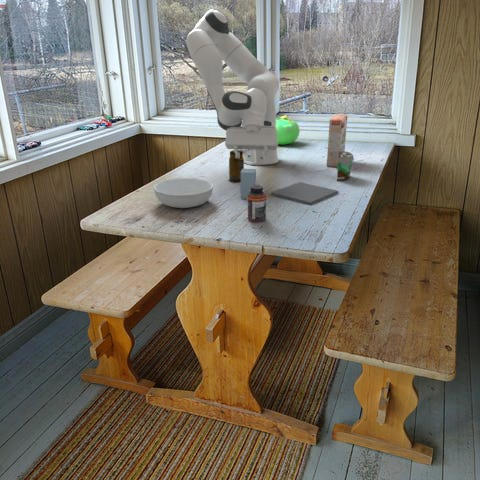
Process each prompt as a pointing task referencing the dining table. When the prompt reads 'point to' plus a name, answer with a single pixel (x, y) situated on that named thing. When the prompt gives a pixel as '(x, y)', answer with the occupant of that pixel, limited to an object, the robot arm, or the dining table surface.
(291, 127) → the toy bird
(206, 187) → the serving bowl
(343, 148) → the cracker box
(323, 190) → the rubber mat
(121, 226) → the dining table surface
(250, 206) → the supplement bottle
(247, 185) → the slate-blue block
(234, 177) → the condiment
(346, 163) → the food container
